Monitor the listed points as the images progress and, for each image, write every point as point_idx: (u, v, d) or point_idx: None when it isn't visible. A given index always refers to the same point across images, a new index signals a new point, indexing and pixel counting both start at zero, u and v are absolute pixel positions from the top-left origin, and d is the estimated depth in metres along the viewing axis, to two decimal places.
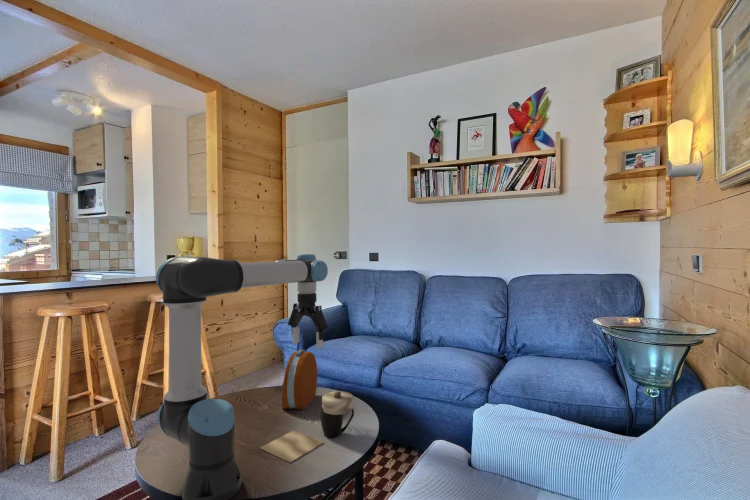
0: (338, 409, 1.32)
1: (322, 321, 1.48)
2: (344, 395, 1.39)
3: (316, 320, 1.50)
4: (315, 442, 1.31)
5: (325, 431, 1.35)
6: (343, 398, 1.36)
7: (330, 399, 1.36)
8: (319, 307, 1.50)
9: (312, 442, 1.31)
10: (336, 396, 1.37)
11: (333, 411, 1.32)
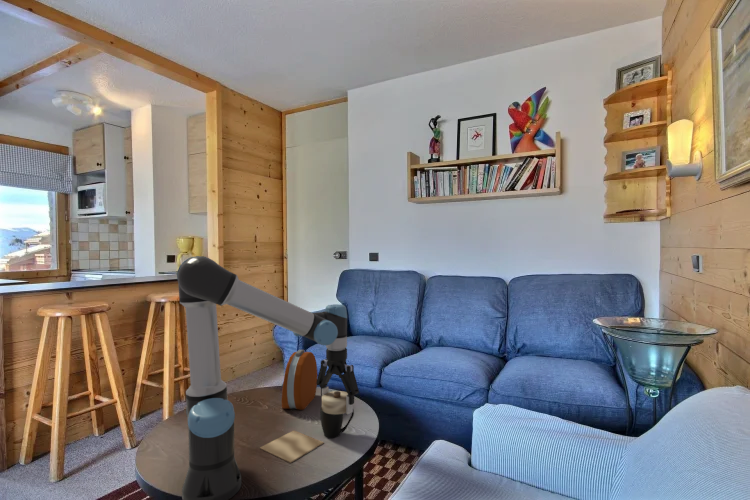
0: (338, 409, 1.33)
1: (353, 384, 1.33)
2: (343, 395, 1.39)
3: (346, 381, 1.35)
4: (315, 442, 1.31)
5: (325, 431, 1.35)
6: (342, 398, 1.36)
7: (329, 399, 1.36)
8: (351, 367, 1.34)
9: (312, 442, 1.31)
10: (336, 396, 1.37)
11: (332, 410, 1.33)
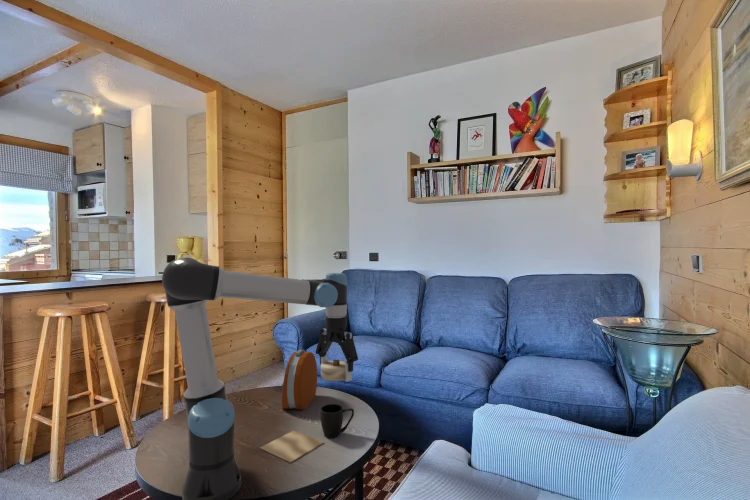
0: (337, 376, 1.32)
1: (353, 351, 1.33)
2: (343, 364, 1.39)
3: (346, 349, 1.34)
4: (315, 442, 1.31)
5: (325, 431, 1.35)
6: (341, 366, 1.36)
7: (328, 366, 1.35)
8: (351, 334, 1.34)
9: (312, 442, 1.31)
10: (335, 364, 1.37)
11: (331, 377, 1.32)
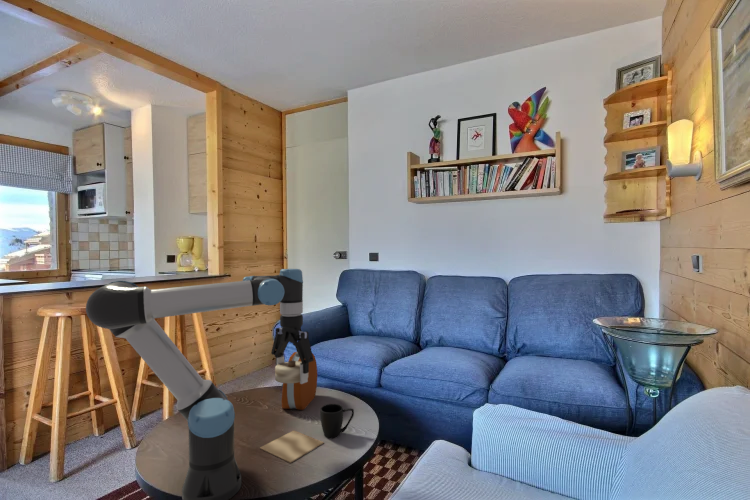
0: (291, 377, 1.25)
1: (307, 351, 1.25)
2: (299, 364, 1.31)
3: (301, 349, 1.27)
4: (315, 442, 1.31)
5: (325, 431, 1.35)
6: (297, 367, 1.28)
7: (283, 368, 1.28)
8: (306, 334, 1.26)
9: (312, 442, 1.31)
10: (290, 365, 1.29)
11: (285, 379, 1.25)
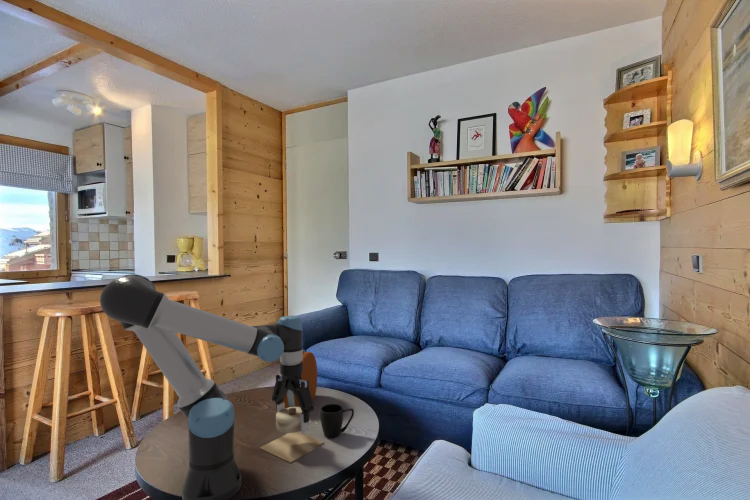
0: (292, 427, 1.25)
1: (308, 401, 1.25)
2: (300, 411, 1.31)
3: (301, 398, 1.27)
4: (315, 442, 1.31)
5: (325, 431, 1.35)
6: (298, 415, 1.28)
7: (283, 416, 1.28)
8: (306, 383, 1.26)
9: (312, 442, 1.31)
10: (291, 413, 1.29)
11: (286, 429, 1.25)
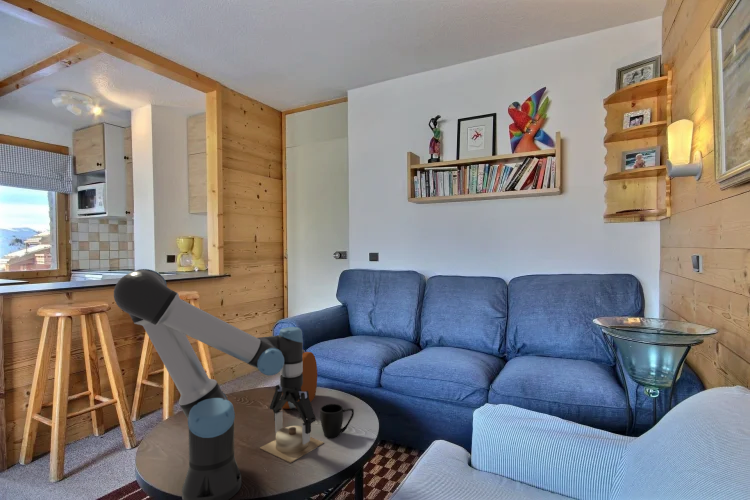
0: (291, 448, 1.25)
1: (309, 412, 1.24)
2: (300, 431, 1.31)
3: (302, 409, 1.26)
4: (315, 442, 1.31)
5: (325, 431, 1.35)
6: (297, 435, 1.28)
7: (283, 436, 1.28)
8: (306, 393, 1.26)
9: (312, 442, 1.31)
10: (291, 433, 1.29)
11: (285, 449, 1.25)
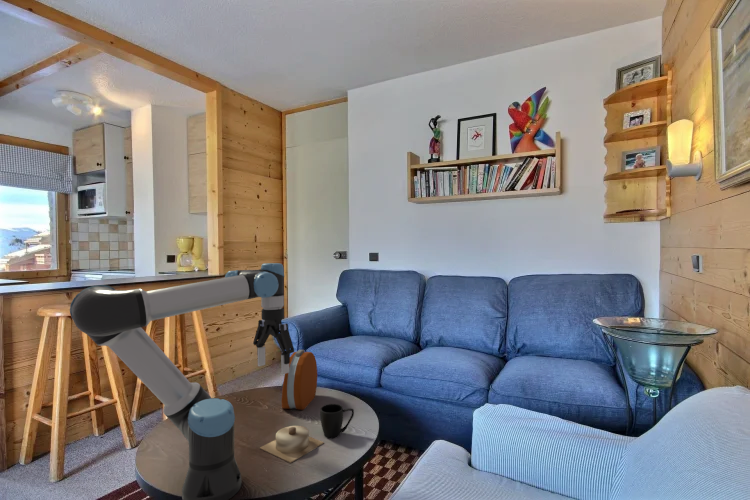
0: (291, 448, 1.25)
1: (287, 342, 1.27)
2: (299, 431, 1.31)
3: (281, 341, 1.29)
4: (315, 442, 1.31)
5: (325, 431, 1.35)
6: (297, 435, 1.28)
7: (283, 436, 1.28)
8: (285, 325, 1.28)
9: (312, 442, 1.31)
10: (290, 433, 1.29)
11: (285, 449, 1.25)
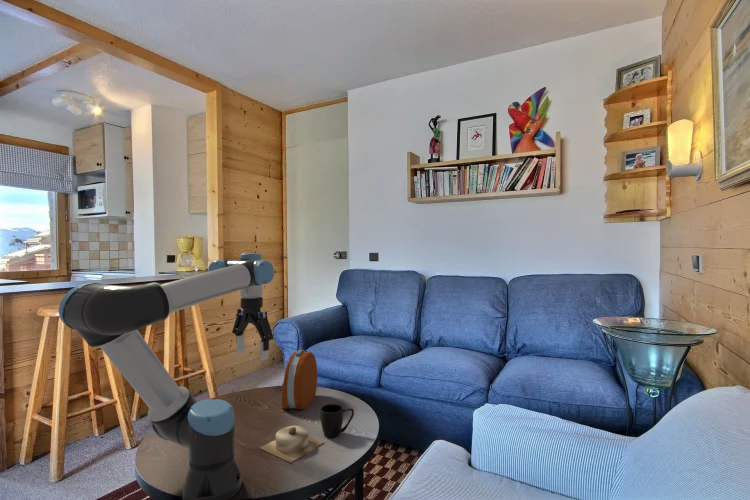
0: (291, 448, 1.25)
1: (267, 329, 1.30)
2: (300, 431, 1.31)
3: (260, 328, 1.32)
4: (315, 442, 1.31)
5: (325, 431, 1.35)
6: (297, 435, 1.28)
7: (283, 436, 1.28)
8: (264, 313, 1.32)
9: (312, 442, 1.31)
10: (290, 432, 1.29)
11: (285, 449, 1.25)
